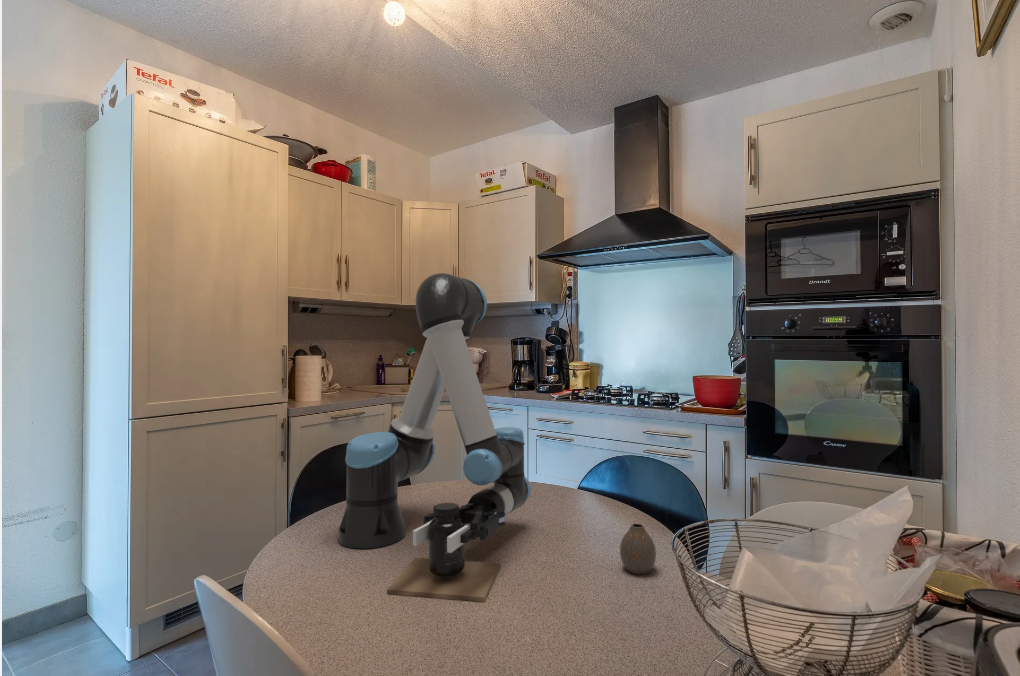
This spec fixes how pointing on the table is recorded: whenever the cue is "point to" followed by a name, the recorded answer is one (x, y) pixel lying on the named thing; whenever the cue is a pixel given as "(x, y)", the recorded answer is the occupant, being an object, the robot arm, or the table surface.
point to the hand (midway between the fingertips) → (431, 541)
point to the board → (446, 581)
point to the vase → (637, 550)
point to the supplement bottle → (445, 541)
